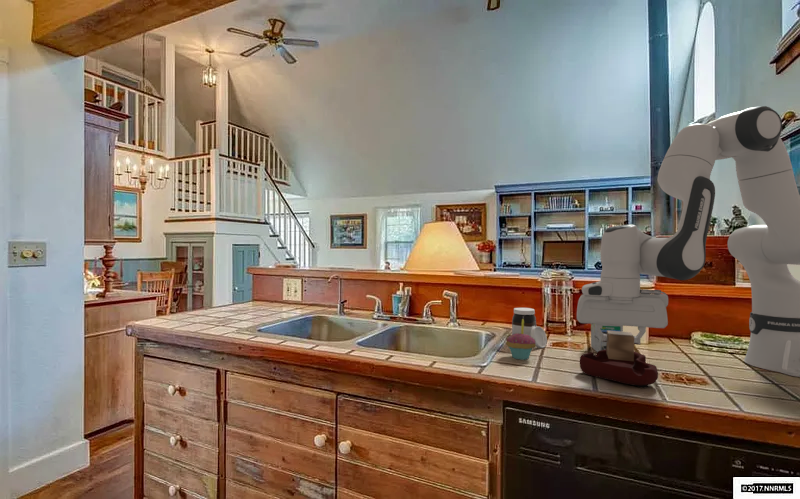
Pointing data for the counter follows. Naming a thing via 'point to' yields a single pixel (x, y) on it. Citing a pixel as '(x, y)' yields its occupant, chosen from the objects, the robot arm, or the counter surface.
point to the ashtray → (619, 369)
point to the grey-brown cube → (620, 345)
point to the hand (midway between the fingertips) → (619, 342)
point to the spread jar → (528, 325)
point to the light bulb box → (595, 335)
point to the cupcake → (520, 344)
